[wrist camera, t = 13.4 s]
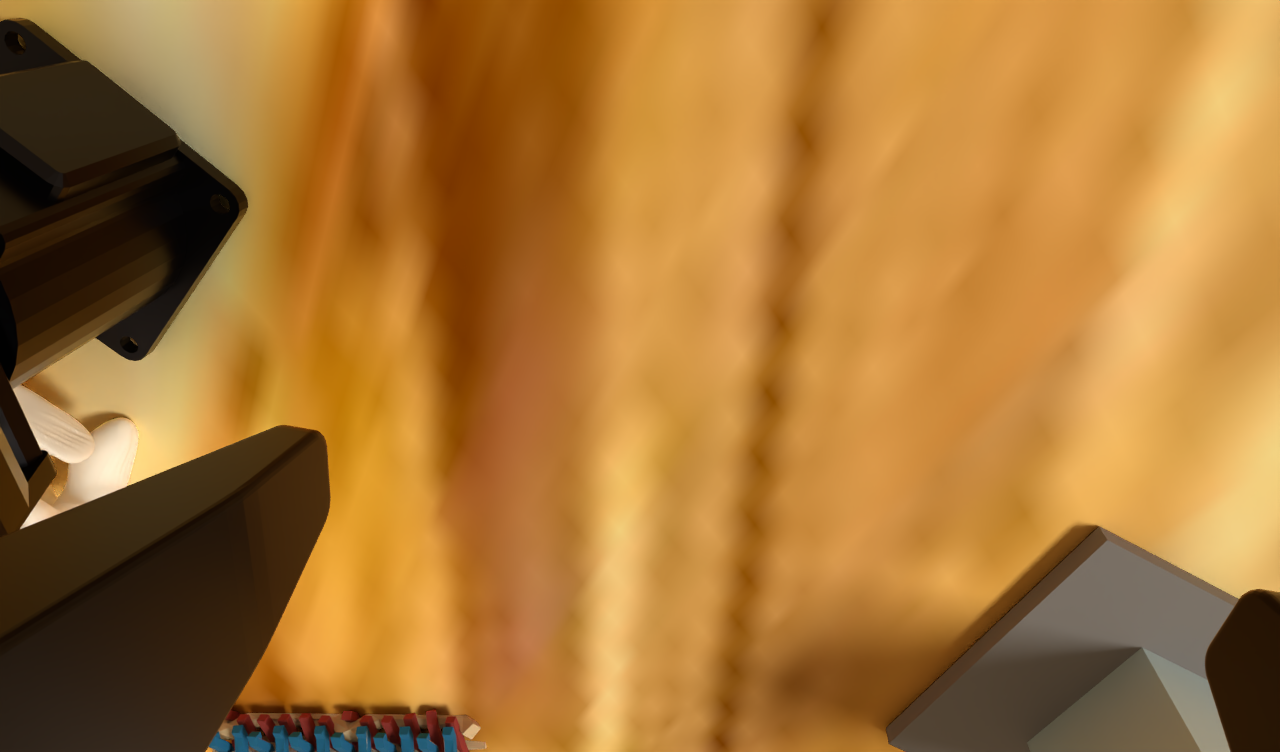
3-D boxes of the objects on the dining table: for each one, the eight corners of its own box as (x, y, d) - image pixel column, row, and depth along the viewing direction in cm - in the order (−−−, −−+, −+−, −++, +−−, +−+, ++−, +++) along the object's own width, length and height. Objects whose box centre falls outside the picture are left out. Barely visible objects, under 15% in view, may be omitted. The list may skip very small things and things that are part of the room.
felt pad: (885, 728, 27) (888, 743, 27) (1098, 526, 23) (1107, 540, 22) (1126, 839, 29) (1133, 856, 28) (1374, 669, 24) (1388, 685, 24)
